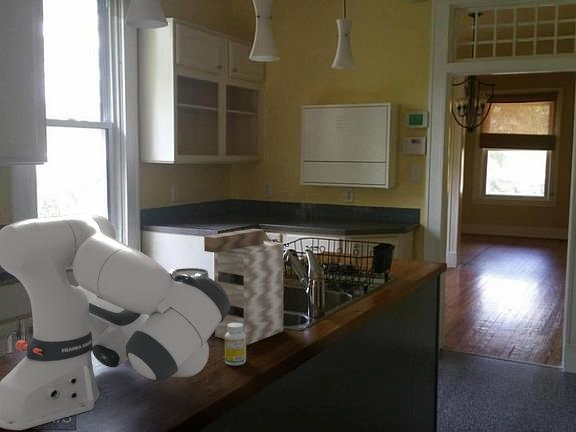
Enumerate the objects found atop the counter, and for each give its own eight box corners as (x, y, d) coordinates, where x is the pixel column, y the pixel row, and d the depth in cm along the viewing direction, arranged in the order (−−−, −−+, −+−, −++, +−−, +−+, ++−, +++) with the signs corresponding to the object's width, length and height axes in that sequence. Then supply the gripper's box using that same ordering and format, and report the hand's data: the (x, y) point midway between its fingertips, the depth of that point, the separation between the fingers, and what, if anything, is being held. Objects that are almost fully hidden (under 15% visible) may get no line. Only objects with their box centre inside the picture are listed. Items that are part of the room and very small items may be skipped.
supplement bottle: (239, 367, 148) (239, 329, 147) (220, 364, 150) (220, 326, 149) (250, 360, 153) (249, 323, 152) (231, 357, 155) (231, 320, 154)
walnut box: (215, 252, 158) (215, 237, 158) (204, 251, 161) (204, 236, 160) (263, 243, 174) (263, 229, 174) (253, 242, 176) (253, 228, 176)
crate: (247, 344, 165) (247, 250, 162) (215, 336, 172) (214, 246, 169) (283, 331, 178) (283, 243, 175) (251, 323, 185) (251, 239, 182)
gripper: (129, 312, 153) (165, 277, 161) (185, 327, 140) (221, 288, 149) (118, 293, 150) (155, 259, 158) (175, 306, 137) (212, 268, 146)
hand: (187, 273), depth 154 cm, fingers open, 8 cm apart
